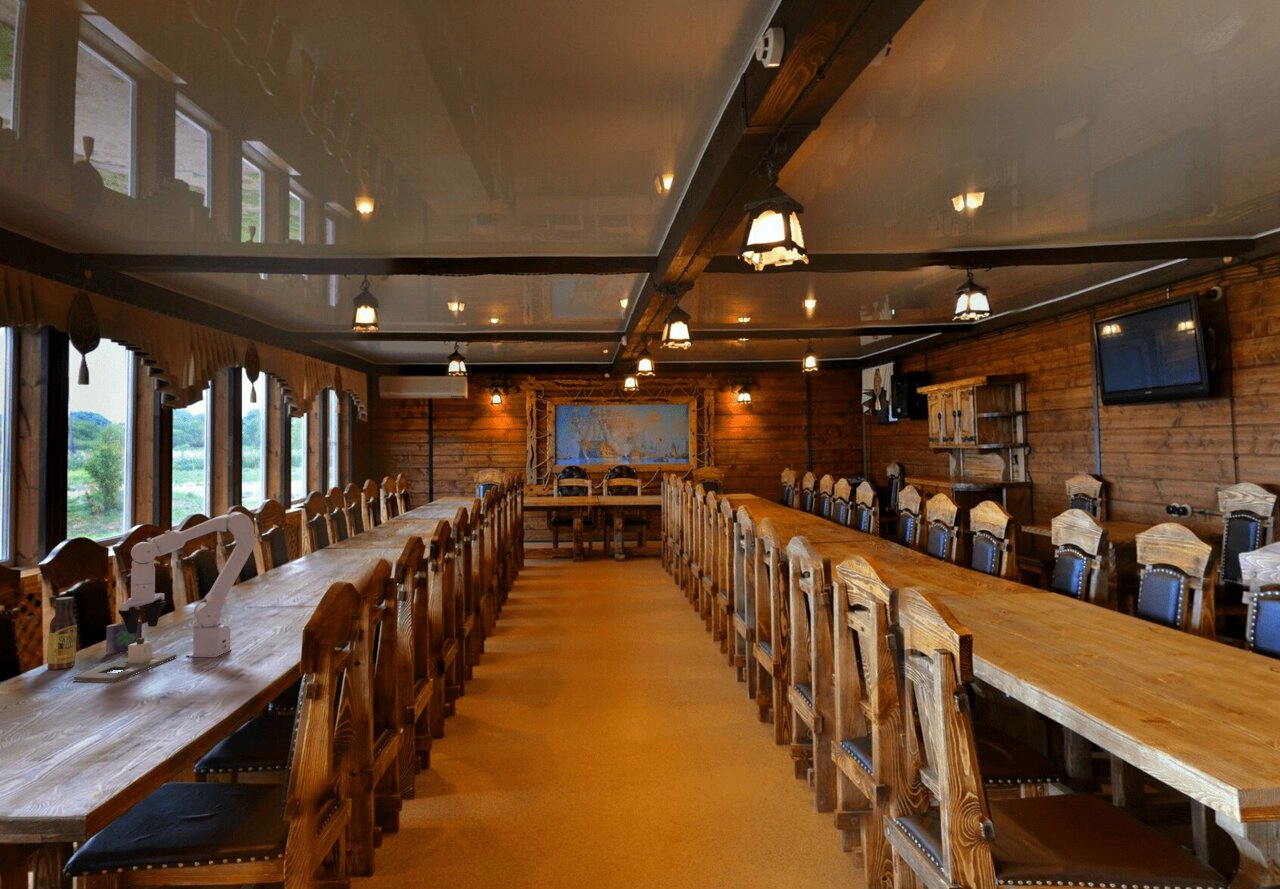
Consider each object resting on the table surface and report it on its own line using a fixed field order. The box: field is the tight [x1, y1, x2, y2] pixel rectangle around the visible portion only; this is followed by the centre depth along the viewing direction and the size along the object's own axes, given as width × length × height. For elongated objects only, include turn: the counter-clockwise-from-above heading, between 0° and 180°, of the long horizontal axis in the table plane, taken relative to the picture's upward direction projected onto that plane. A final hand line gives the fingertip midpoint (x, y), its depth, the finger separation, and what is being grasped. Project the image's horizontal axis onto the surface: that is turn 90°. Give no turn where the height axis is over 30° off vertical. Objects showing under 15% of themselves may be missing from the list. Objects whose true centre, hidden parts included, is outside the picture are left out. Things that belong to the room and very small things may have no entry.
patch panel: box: [73, 653, 177, 683], centre depth 196 cm, size 12×22×1 cm, turn 176°
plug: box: [127, 637, 153, 663], centre depth 201 cm, size 5×4×7 cm
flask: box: [105, 617, 143, 656], centre depth 213 cm, size 9×3×11 cm, turn 146°
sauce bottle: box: [47, 596, 78, 671], centre depth 198 cm, size 6×6×20 cm
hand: (142, 629), depth 202 cm, fingers open, 7 cm apart
